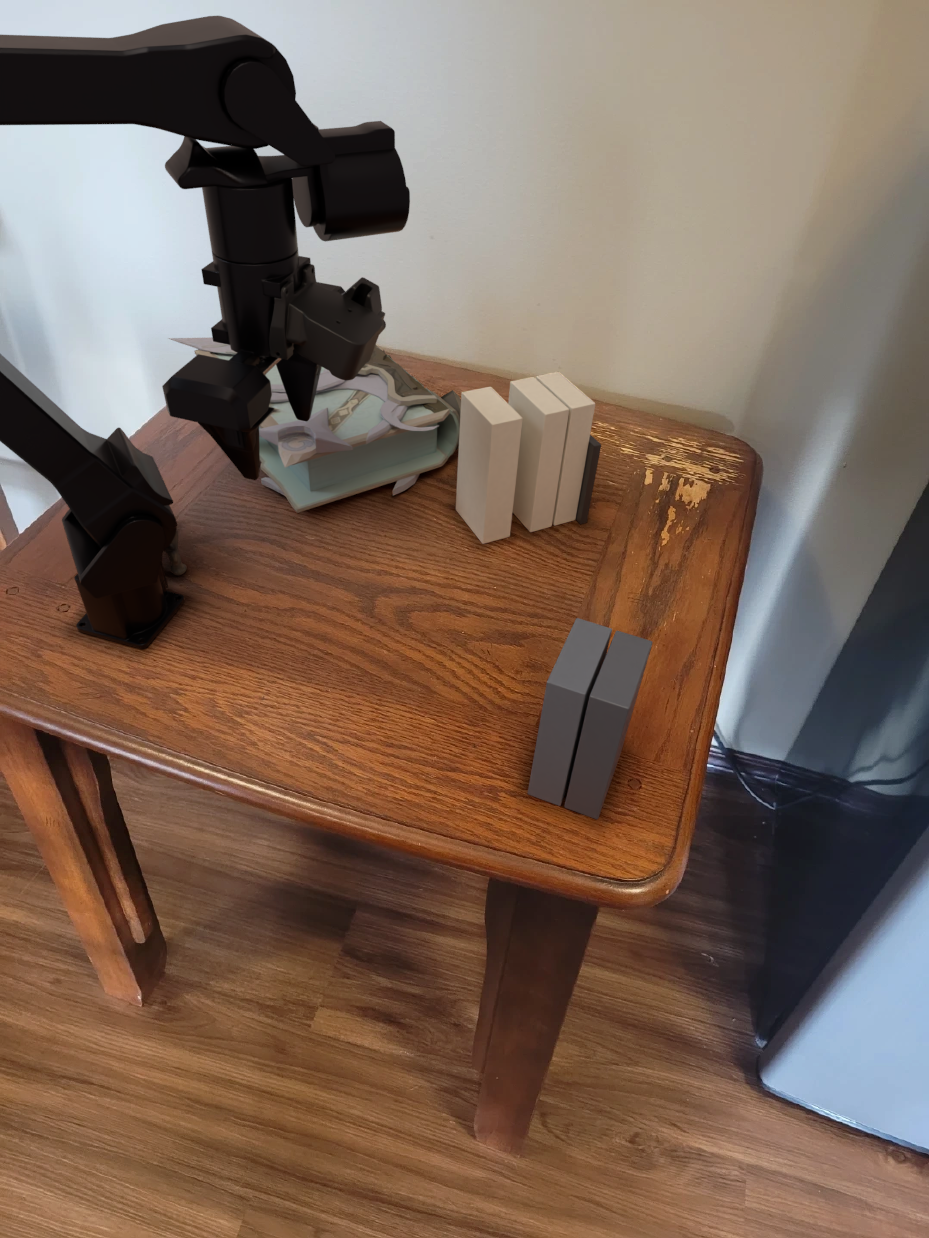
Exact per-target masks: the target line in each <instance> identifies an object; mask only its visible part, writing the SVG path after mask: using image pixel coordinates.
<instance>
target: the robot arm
mask: <svg viewBox="0 0 929 1238" xmlns="http://www.w3.org/2000/svg"><path fill="white" fill-rule="evenodd" d="M296 97H297V90H296V84H295V77H294V73H293V72H292V70H291V68H290V65H289V63H288V61H287V59H286V58H285V56H284V55H283V54H282V52H281V51H280V50H279V49H278V48H277V46H276V45H275V44H273V42H270V41H269V40H267V39H266V38H264V37H262V36H261V35H259V34H258V33H256V32H255V31H253V30H251V29H250V28H248V27H246V26H245V25H243V24H242V23H240V22H239V21H237V20H235V19H233V18H231V17H226V16H224V15H223V16H222V15H208V16H201V17H196V18H191V19H186V20H179V21H173V22H168V23H163V24H159V25H156V26H152V27H150V28H145V29H144V30H140V31H137V32H135V33H134V32H133V33H131V34H130V33H129V34H125V35H120V36H114V37H113V36H112V37H91V36H90V37H89V36H87V37H86V36H61V35H59V36H57V35H28V34H26V35H25V34H24V35H23V34H0V126H61V125H62V126H67V125H68V126H69V125H71V126H75V125H76V126H78V125H80V126H83V125H85V126H86V125H136V126H141V127H146V128H147V127H148V128H154V129H158V130H161V131H164V132H168V133H172V134H175V135H178V136H181V137H183V139H182V142H181V144H180V146H179V148H178V149H177V150H176V151H175V152H174V153H172V155H171V156H170V157H169V159H167V160H166V161H165V163H164V169H165V172H167V174H168V175H169V176H170V177H171V178H172V179H173V181H174V182H175V183H176V185H177V186H178V187H179V188H180V189H182V190H192V189H193V190H194V189H201V191H202V196H203V197H202V198H203V204H204V210H205V216H206V217H205V218H206V224H207V230H208V237H209V244H210V249H211V255H212V261H211V262H210V263H208V264H207V265H205V266H204V267H203V268H201V274H202V281H203V285H205V286H211V287H217V288H216V289H217V295H218V301H219V308H220V314H221V319H220V320H219V321H218V322H216V324H214V325H213V326H212V327H211V328H210V330H211V331H210V332H211V336H212V337H211V338H213V342H218V343H223V344H228V345H230V347H231V350H233V351H235V352H237V353H236V354H235V355H234V356H233V357H232V358H231V359H230V360H225V359H220V358H215V357H210V356H205V355H200V354H198V355H197V356H196V355H195V356H194V357H193V358H192V359H191V360H189V361H188V362H187V363H185V364H184V365H183V366H182V367H181V368H180V369H178V370H177V371H176V372H175V373H174V374H173V375H171V376H170V377H169V378H168V379H167V380H166V382H165V383H163V384H162V386H161V387H162V392H163V396H164V401H165V405H166V410H167V413H168V414H169V416H170V417H171V418H177V419H179V420H180V419H182V420H185V421H190V422H195V423H198V425H199V426H200V427H201V428H203V430H204V431H205V432H206V433H207V434H208V435H209V436H210V437H211V438H212V439H213V440H214V442H215V443H216V444H217V445H218V447H219V448H220V449H221V451H222V452H223V453H224V454H225V456H226V457H227V458H228V459H229V460H230V462H231V463H232V464H233V466H234V467H235V468H236V469H237V471H238V472H239V473H240V474H241V476H242V477H243V478H245V479H247V480H251V481H257V480H258V479H259V478H260V466H261V461H260V448H259V426H260V425H261V424H262V423H263V421H264V420H265V419H266V418H267V417H268V416H269V415H270V414H271V413H272V412H273V411H274V408H272V407H269V404H270V400H271V397H272V392H271V383H270V380H269V379H268V378H267V377H266V376H265V375H266V374H267V373H268V372H269V371H270V370H271V369H272V368H273V367H274V366H275V365H276V366H277V369H278V372H279V374H280V377H281V380H282V383H283V386H284V389H285V391H286V394H287V397H288V400H289V403H290V405H291V407H292V410H293V412H294V414H295V416H296V418H297V419H298V420H301V421H308V420H309V419H310V417H311V412H312V408H313V403H314V399H315V394H316V390H317V385H318V380H319V376H320V372H321V368H322V367H323V368H325V369H327V370H329V371H330V373H331V374H332V375H333V376H335V377H337V378H339V379H342V380H352V379H354V378H355V377H356V376H357V374H358V372H359V371H360V370H361V369H362V367H363V366H364V365H365V364H366V363H368V362H369V361H370V359H371V356H372V353H373V350H374V348H375V345H376V346H377V343H378V339H379V336H380V335H381V334H382V332H383V331H384V330H386V327H387V322H386V321H385V316H386V312H384V311H382V310H383V305H382V299H381V298H382V297H381V290H380V286H379V285H378V284H376V283H374V282H373V281H371V280H369V279H367V278H366V277H360V278H359V279H358V280H357V281H355V282H354V283H353V284H352V285H350V286H349V288H348V289H347V290H345V289H344V288H343V287H342V286H341V285H336V284H330V283H324V282H319V281H317V279H316V267H315V265H314V264H312V263H311V257H307V256H302V255H299V244H298V232H297V222H296V221H297V220H296V213H297V215H298V218H299V221H300V222H301V224H302V226H303V227H305V228H312V229H313V231H314V232H315V234H316V236H317V238H319V240H320V241H322V242H332V241H340V240H347V239H354V238H361V237H368V236H369V237H370V236H377V235H385V234H391V233H398V232H402V231H403V230H404V228H405V227H406V226H407V222H408V220H409V214H410V204H411V193H410V188H409V187H408V186H407V181H406V175H405V171H404V167H403V163H402V161H401V158H400V155H399V153H398V150H397V149H396V131H395V130H394V129H393V128H392V127H391V126H390V125H388V124H387V123H385V122H383V120H382V121H381V120H374V121H373V120H372V121H366V122H362V123H359V124H357V125H353V126H345V127H343V126H342V127H332V128H330V127H329V128H319V127H318V126H317V125H316V124H315V123H313V122H312V120H311V119H310V118H309V116H308V115H307V113H306V112H305V111H304V110H303V108H302V106H300V104H299V103H298V101H297V100H296ZM199 141H201V142H206V143H207V142H208V143H213V144H218V145H223V146H212V147H205V146H204V145H202V144H201V143H200V142H199ZM269 146H270V147H271V148H273V150H276V151H278V152H279V153H281V155H280V154H278V155H258V154H257V151H256V150H257V149H263V148H265V147H269ZM0 443H2V445H4V446H5V447H6V448H8V449H9V450H10V451H11V452H12V453H14V454H15V455H16V456H18V457H19V458H20V459H21V460H22V461H23V462H24V463H26V464H27V465H29V466H30V467H31V469H33V470H35V471H36V472H37V473H39V475H41V476H42V477H43V478H45V479H46V480H47V481H48V482H49V483H50V484H51V485H52V486H53V487H54V488H55V490H56V491H57V493H58V494H59V496H60V497H61V498H62V500H63V501H64V503H65V505H67V507H68V510H67V511H66V513H65V514H64V515H63V516H62V518H61V523H62V526H63V529H64V533H65V536H66V539H67V543H68V546H69V549H70V552H71V553H70V554H71V557H72V559H73V563H74V566H75V569H76V575H75V576H74V577H73V578H74V581H75V584H76V587H77V590H78V592H79V593H78V594H79V595H80V598H81V601H82V603H83V606H84V609H85V612H86V613H85V614H84V615H83V616H82V617H81V618H80V619H79V621H78V622H77V623H76V629H77V631H78V632H79V633H83V634H87V635H90V636H93V637H96V638H100V639H104V640H108V641H111V642H115V643H118V644H122V645H126V646H129V647H133V648H136V649H141V650H142V649H146V648H147V647H149V645H150V644H151V643H152V642H153V641H154V640H155V638H156V637H157V636H158V635H159V633H160V632H161V631H162V630H163V629H164V628H165V626H166V625H167V624H168V623H169V622H170V620H171V619H172V618H173V617H174V616H175V614H176V613H177V612H178V611H179V609H180V608H181V607H182V606H183V605H184V603H185V602H186V601H185V596H184V595H183V594H181V593H177V592H173V591H169V590H168V588H169V584H168V580H167V577H166V573H165V569H164V565H163V561H162V560H163V555H164V552H165V549H166V548H167V547H168V546H169V545H170V544H171V543H172V541H173V539H174V537H175V535H176V528H177V527H178V521H177V519H176V516H175V514H174V512H173V509H172V508H171V505H173V504H174V500H173V498H172V495H171V493H170V491H169V490H168V487H167V484H166V482H165V480H164V479H163V476H162V474H161V471H160V470H159V467H158V465H157V463H156V461H155V459H154V457H153V456H152V455H150V454H147V453H145V452H142V451H141V450H140V449H138V447H136V446H135V445H134V444H133V442H132V441H131V439H129V437H128V436H127V433H125V431H124V430H123V429H122V428H121V427H116V429H115V430H114V431H113V432H112V433H111V434H110V435H109V436H108V437H107V438H105V437H102V436H100V435H97V434H94V433H92V432H89V431H87V430H85V428H83V427H82V426H80V425H79V423H77V422H76V421H75V420H74V419H72V418H71V416H69V415H68V414H67V413H66V412H65V411H64V410H63V409H62V408H61V407H60V406H59V405H58V404H57V403H55V402H54V401H53V400H52V399H50V397H48V396H47V394H45V393H44V392H43V391H42V390H41V389H40V388H38V386H37V385H35V384H34V383H33V382H32V381H31V380H30V379H29V378H28V377H27V376H26V375H25V374H23V373H22V372H21V370H19V369H18V368H17V367H16V366H15V365H13V363H12V362H10V361H9V360H8V359H7V358H6V357H5V356H4V355H2V354H1V353H0Z"/></svg>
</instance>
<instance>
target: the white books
mask: <svg viewBox="0 0 929 1238" xmlns="http://www.w3.org/2000/svg"><path fill="white" fill-rule="evenodd" d="M507 403H508V404H509V405H510V406H511V407H512V408H513V409H514V410H515V411H516V412H517V413H518V414H519V415H520V416H521V417H522V418H523V419H522V428H521V438H520V447H519V456H518V465H517V475H516V484H515V493H514V502H513V512H512V514H513V515H514V516H515V517H516V518H517V520H519V521H520V523H521V524H522V525H523V526H524V528H526V529H527V531H528V532H529V533H533V532H537V531H542V530H544V529H547V528H551V527H552V526H554V527H556V526H560V525H562V524H565V523H570V522H573V521H576V522H578V524H579V525H584V524H586V523H588V519H589V514H590V508H591V503H592V497H593V492H594V486H595V481H596V476H597V470H598V466H599V465H598V464H599V459H600V454H601V448H602V444H601V443H600V442H599V441H598V440H597V439H596V438H595V437H594V436H592V434H591V433H592V427H593V421H594V415H595V410H596V402H595V401H594V400H592V398H591V397H590V396H588V395H587V394H585V392H583V391H582V390H581V389H580V388H578V387H577V386H576V385H575V384H574V383H573V382H571V381H570V380H569V379H568V378H567V377H566V376H565V375H563V374H562V373H561V372H560V371H554V372H549V373H544V374H539V375H536V376H535V377H534V376H530V377H525V378H520V379H514V380H511V381H510V382H509V392H508V402H507Z"/></svg>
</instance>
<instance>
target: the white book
mask: <svg viewBox="0 0 929 1238" xmlns="http://www.w3.org/2000/svg"><path fill="white" fill-rule="evenodd" d="M460 399H461V413H460V433H459V449H458V453H457V454H458V455H457V456H458V457H457V473H456V475H457V476H456V492H455V511H456V513H458V515H459V517H461V519H462V520H463V521H464V523H465V524H466V525H467V526H468V528H469V529H470V530H471V531H472V532H473V534H474V535H475V537H476V538H477V539H478V540H479V542H480V543H481V545H484V544H488V543H491V542H495V541H498V540H499V541H500V540H502V539H506V538H510V537H511V530H512V521H513V502H514V493H515V484H516V475H517V465H518V456H519V447H520V438H521V428H522V419H523V418H522V417H521V416H520V415H519V414H518V413H517V412H516V411H515V410H514V409H513V408H512V407H511V406H510V405H509V404H508V402H507V401H506V400H505V399H504V398H503V397H502V396H501V395H500V394H499V393H498V392H497V391H496V390H495V389H494V388H493V387H492V386H485V387H482V388H481V387H480V388H475V389H469V390H466V391H462V392H461V395H460Z"/></svg>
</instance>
